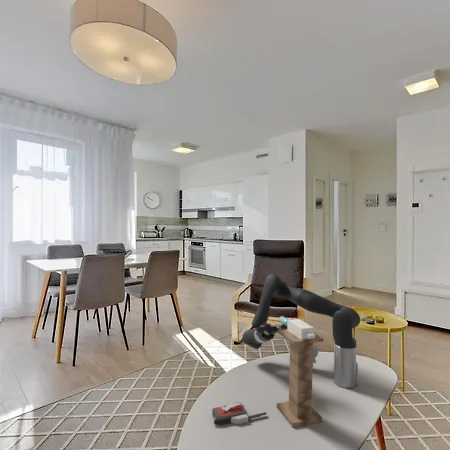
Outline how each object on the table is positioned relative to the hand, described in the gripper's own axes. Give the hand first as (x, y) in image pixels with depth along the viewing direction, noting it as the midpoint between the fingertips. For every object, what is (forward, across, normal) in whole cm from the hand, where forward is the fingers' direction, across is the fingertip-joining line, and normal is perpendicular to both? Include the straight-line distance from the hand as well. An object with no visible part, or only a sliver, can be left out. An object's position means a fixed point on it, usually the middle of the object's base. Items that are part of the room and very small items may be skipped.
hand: (278, 325), depth 130 cm
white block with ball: (+13, 0, +5) cm, 14 cm away
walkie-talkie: (-4, -22, +30) cm, 38 cm away
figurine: (-25, +24, +18) cm, 39 cm away
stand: (+1, 0, +32) cm, 32 cm away
